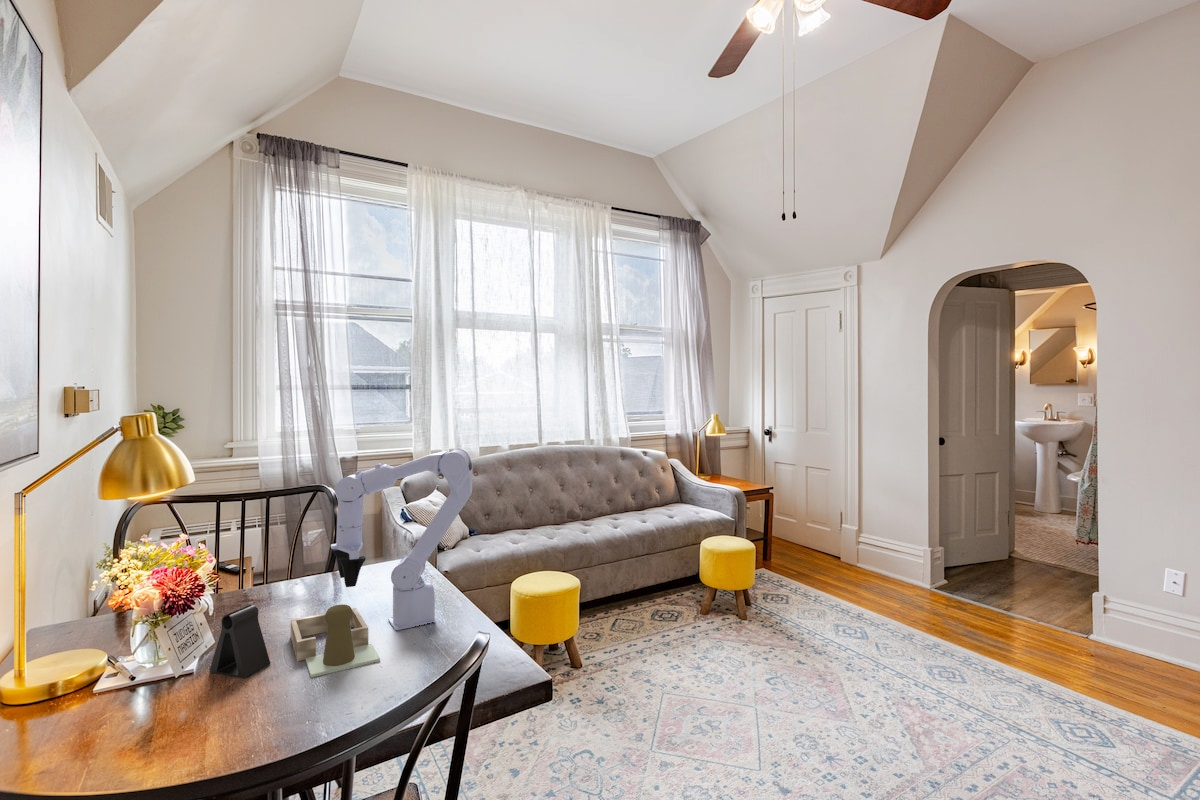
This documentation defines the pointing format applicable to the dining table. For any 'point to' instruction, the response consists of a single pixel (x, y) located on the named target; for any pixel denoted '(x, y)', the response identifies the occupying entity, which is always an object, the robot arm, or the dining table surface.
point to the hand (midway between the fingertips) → (347, 581)
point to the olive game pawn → (338, 636)
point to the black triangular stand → (240, 645)
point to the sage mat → (362, 657)
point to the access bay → (319, 625)
